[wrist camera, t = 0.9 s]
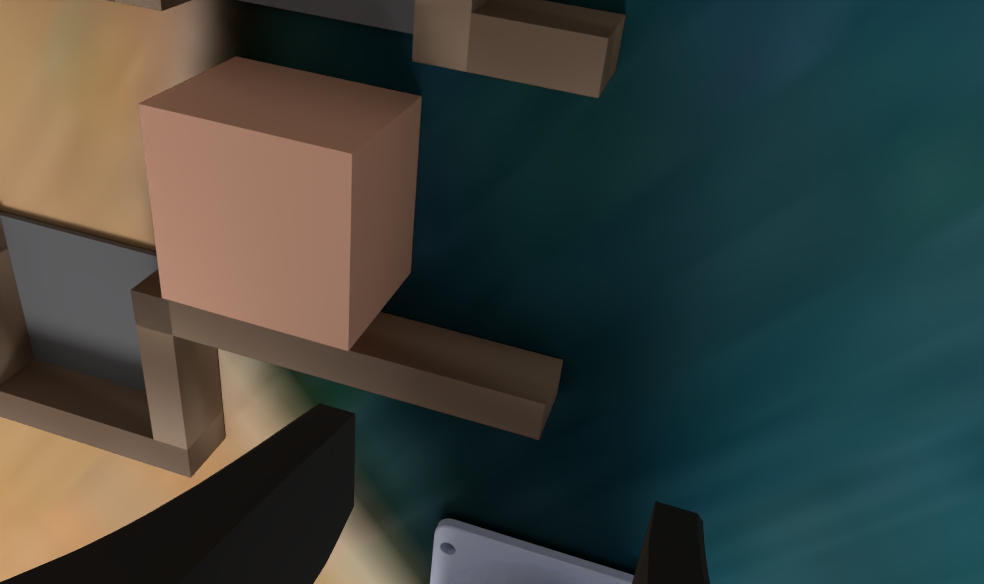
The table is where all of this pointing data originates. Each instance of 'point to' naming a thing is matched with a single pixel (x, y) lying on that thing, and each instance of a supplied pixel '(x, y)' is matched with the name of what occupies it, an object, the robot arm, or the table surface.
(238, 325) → the trap lane
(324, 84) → the block
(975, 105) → the table surface
